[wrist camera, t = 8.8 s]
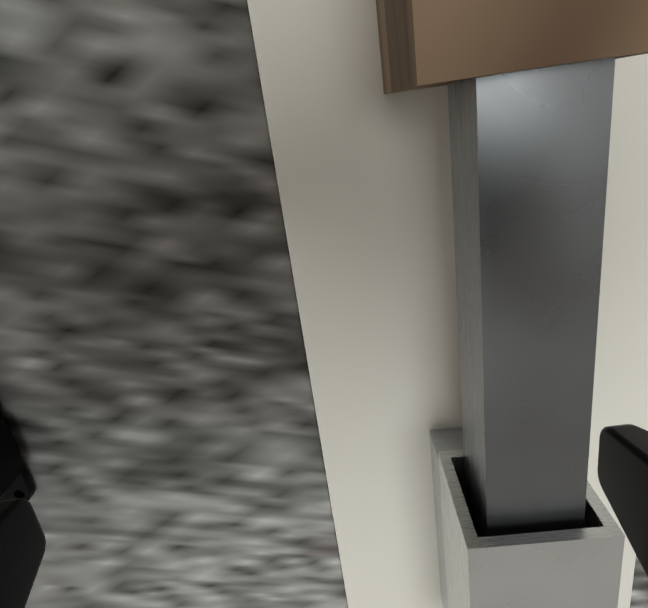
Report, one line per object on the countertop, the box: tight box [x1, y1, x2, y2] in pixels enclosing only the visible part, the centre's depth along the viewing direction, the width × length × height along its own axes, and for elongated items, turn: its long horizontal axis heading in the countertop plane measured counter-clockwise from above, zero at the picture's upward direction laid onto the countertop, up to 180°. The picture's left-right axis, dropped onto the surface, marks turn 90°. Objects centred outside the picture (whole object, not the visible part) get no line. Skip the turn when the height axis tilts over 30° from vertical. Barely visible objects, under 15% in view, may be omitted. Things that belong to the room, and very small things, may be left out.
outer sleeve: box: [429, 427, 625, 608], centre depth 20 cm, size 5×11×7 cm, turn 8°
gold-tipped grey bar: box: [448, 57, 615, 537], centre depth 15 cm, size 3×17×3 cm, turn 8°
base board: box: [247, 0, 648, 608], centre depth 20 cm, size 14×32×1 cm, turn 8°
